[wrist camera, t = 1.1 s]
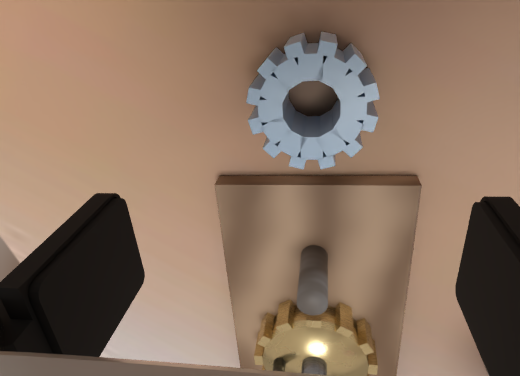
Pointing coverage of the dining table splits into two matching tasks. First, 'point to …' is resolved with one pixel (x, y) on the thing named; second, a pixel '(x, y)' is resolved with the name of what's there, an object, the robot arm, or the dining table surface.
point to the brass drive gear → (316, 342)
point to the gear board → (329, 222)
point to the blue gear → (313, 127)
